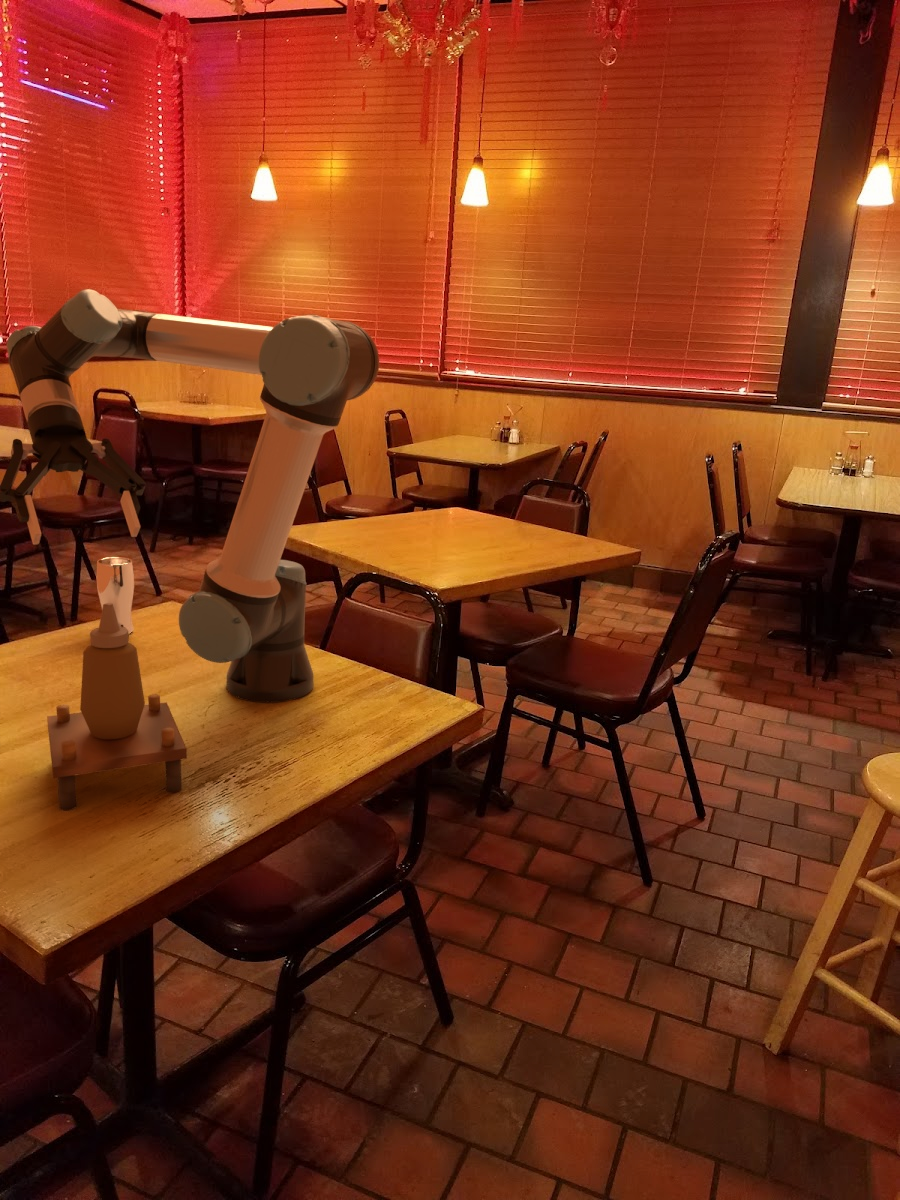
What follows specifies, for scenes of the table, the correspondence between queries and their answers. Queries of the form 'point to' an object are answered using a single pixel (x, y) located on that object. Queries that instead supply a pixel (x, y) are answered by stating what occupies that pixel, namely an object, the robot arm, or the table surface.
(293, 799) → the table surface
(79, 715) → the walnut stand
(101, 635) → the squeeze bottle
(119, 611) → the beer glass
